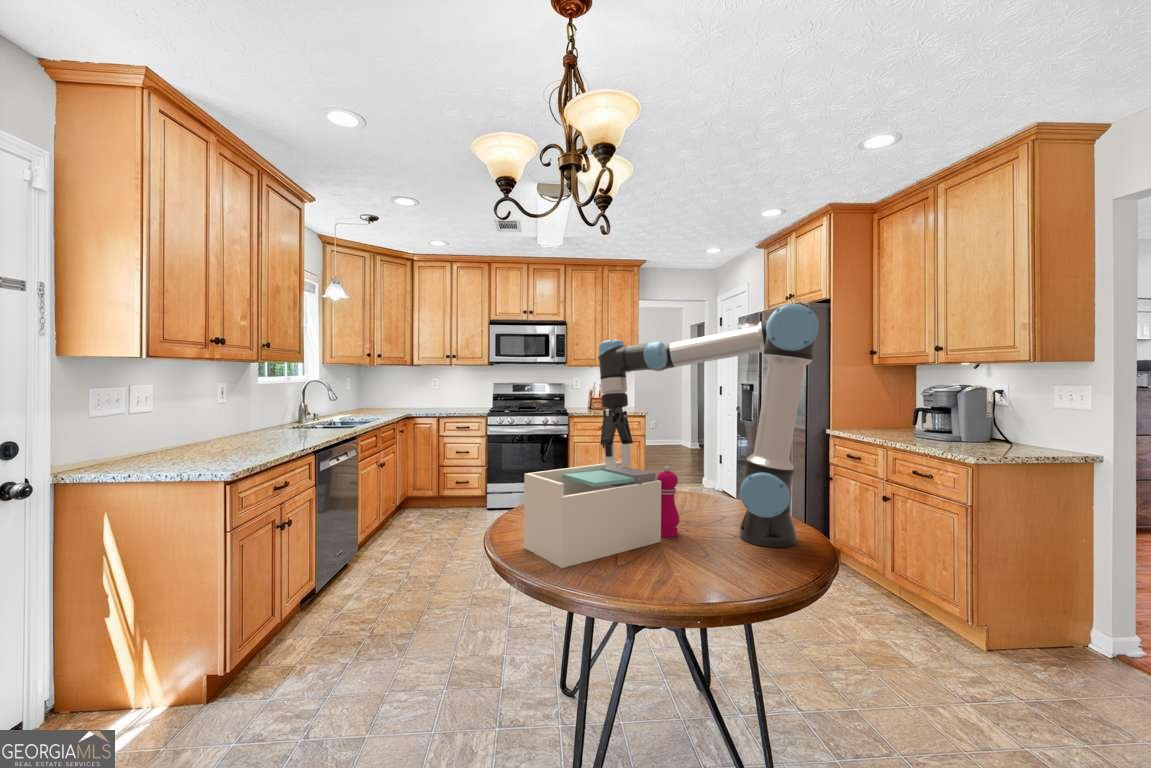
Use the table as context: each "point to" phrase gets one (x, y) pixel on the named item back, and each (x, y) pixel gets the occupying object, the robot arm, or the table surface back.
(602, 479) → the trapdoor
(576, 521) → the frame
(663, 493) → the pepper mill
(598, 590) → the table surface
